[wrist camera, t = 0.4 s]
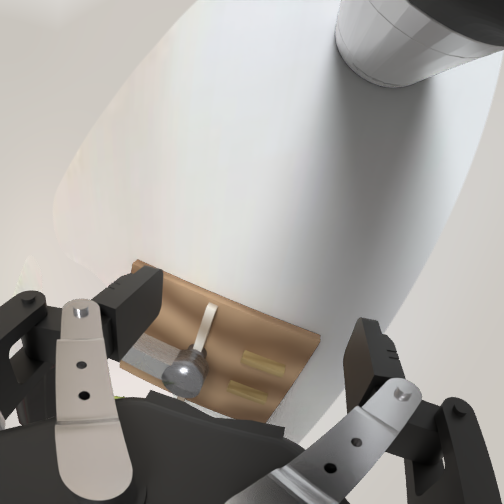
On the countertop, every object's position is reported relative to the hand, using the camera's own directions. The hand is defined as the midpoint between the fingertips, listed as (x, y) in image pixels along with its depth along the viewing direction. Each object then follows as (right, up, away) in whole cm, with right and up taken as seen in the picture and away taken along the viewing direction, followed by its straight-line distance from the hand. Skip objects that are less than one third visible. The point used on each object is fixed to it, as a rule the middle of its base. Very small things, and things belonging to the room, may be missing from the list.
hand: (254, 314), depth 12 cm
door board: (-6, -10, +26) cm, 28 cm away
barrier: (-42, -24, +39) cm, 62 cm away
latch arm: (-11, -9, +22) cm, 26 cm away
